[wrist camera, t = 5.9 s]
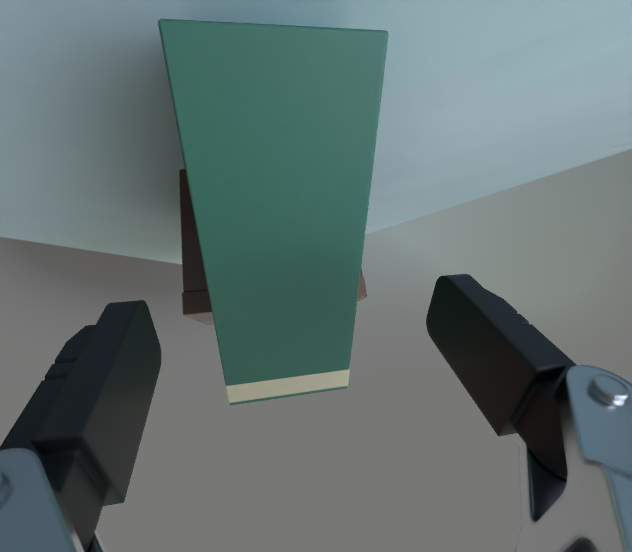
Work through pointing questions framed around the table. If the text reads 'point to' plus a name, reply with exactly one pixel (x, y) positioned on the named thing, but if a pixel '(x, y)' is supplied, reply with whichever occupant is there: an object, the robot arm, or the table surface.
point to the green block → (278, 190)
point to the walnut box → (193, 269)
